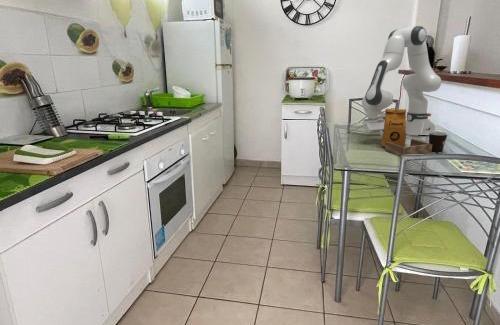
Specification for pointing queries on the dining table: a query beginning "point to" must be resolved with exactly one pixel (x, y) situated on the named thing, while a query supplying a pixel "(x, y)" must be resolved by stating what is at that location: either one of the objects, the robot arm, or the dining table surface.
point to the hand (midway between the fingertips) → (385, 137)
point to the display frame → (409, 148)
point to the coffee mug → (437, 141)
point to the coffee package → (394, 127)
